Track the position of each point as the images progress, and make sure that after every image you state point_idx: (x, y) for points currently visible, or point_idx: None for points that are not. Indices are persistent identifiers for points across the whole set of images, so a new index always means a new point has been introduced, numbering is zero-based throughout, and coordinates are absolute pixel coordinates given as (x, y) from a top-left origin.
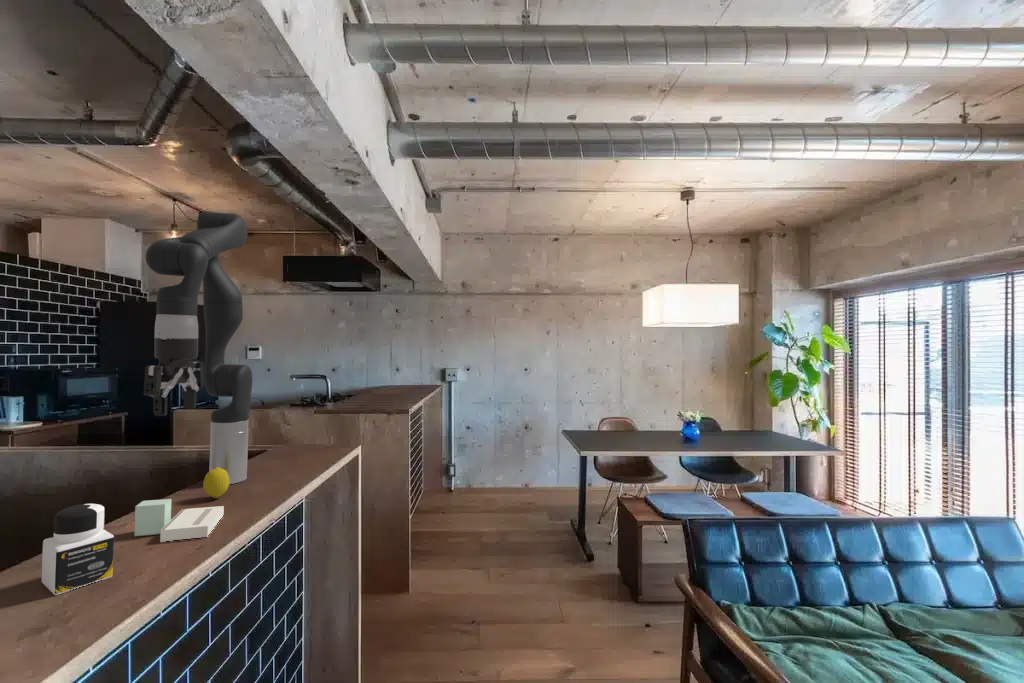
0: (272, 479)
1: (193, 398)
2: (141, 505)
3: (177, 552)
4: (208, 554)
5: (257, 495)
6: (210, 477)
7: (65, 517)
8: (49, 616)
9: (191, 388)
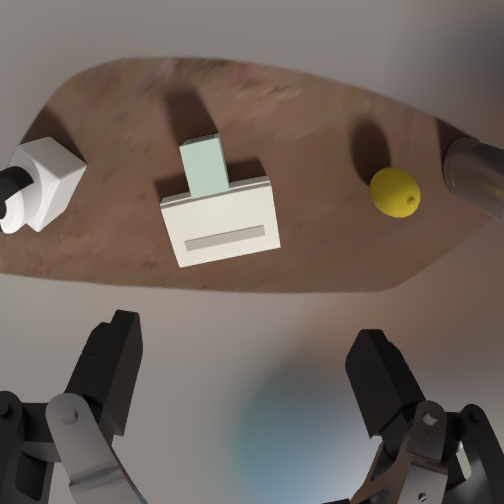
0: (449, 236)
1: (361, 407)
2: (185, 155)
3: (132, 243)
4: (131, 284)
5: (378, 246)
6: (386, 193)
7: None
8: None
9: (391, 449)
